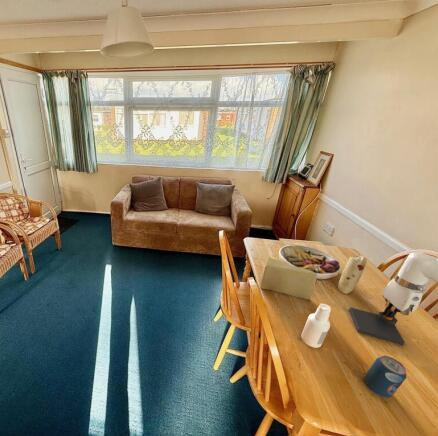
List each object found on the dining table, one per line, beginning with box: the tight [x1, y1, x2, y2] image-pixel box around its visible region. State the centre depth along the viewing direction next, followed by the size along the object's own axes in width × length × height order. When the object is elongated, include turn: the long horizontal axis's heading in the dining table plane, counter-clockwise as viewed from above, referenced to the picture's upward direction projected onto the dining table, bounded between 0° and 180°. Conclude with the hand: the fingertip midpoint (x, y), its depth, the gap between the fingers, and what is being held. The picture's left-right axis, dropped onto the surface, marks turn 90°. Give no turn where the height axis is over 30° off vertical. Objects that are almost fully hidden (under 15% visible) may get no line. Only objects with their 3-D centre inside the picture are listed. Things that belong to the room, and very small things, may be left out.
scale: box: [348, 306, 406, 346], centre depth 96 cm, size 15×14×4 cm
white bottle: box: [300, 303, 332, 349], centre depth 87 cm, size 7×7×18 cm
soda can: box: [364, 355, 407, 398], centre depth 73 cm, size 7×7×12 cm
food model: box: [337, 254, 367, 295], centre depth 112 cm, size 10×7×20 cm
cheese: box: [259, 256, 317, 300], centre depth 113 cm, size 22×10×15 cm, turn 58°
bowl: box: [278, 244, 341, 280], centre depth 134 cm, size 30×30×8 cm
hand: (387, 315), depth 97 cm, fingers closed
